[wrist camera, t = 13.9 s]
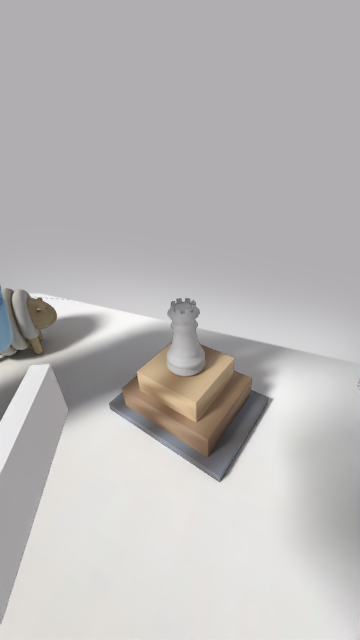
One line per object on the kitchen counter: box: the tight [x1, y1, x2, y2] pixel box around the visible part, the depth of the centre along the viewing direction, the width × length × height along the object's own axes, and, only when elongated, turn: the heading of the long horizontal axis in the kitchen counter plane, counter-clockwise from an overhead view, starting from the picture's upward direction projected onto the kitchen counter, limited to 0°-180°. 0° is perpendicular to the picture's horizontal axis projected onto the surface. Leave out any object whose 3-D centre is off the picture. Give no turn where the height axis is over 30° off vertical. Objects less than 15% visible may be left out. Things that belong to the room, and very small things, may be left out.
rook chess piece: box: [167, 298, 206, 377], centre depth 30 cm, size 4×4×8 cm
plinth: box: [109, 342, 268, 482], centre depth 35 cm, size 16×12×7 cm
